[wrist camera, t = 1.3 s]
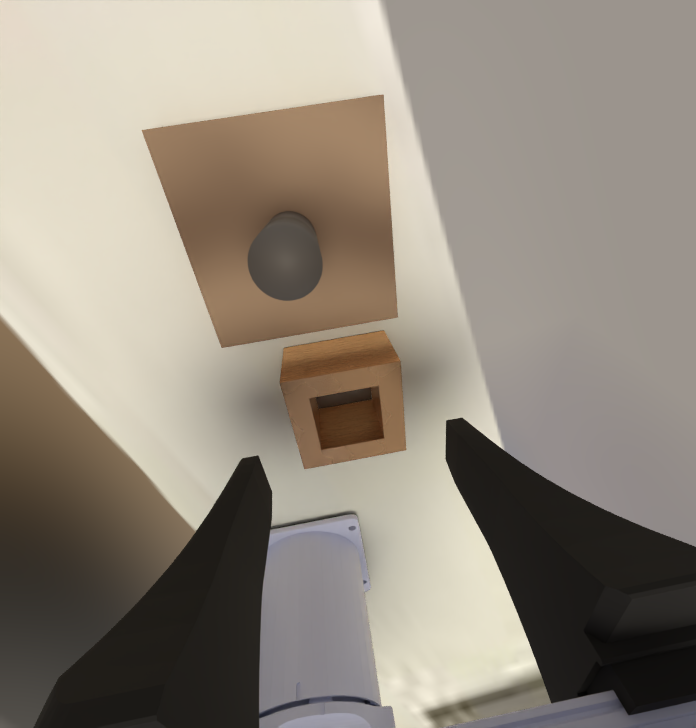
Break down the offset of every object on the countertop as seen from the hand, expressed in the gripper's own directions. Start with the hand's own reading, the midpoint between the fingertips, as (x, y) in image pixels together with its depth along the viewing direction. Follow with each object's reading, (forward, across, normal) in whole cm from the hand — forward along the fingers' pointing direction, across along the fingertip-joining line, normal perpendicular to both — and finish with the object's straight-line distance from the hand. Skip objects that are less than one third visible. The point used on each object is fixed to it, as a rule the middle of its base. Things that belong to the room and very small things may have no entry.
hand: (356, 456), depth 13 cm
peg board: (+6, +1, -7) cm, 9 cm away
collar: (+6, 0, 0) cm, 6 cm away
